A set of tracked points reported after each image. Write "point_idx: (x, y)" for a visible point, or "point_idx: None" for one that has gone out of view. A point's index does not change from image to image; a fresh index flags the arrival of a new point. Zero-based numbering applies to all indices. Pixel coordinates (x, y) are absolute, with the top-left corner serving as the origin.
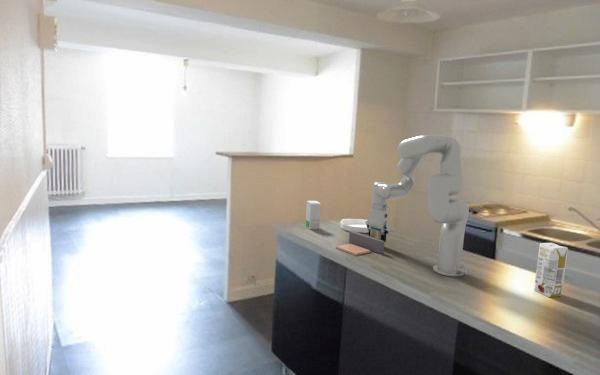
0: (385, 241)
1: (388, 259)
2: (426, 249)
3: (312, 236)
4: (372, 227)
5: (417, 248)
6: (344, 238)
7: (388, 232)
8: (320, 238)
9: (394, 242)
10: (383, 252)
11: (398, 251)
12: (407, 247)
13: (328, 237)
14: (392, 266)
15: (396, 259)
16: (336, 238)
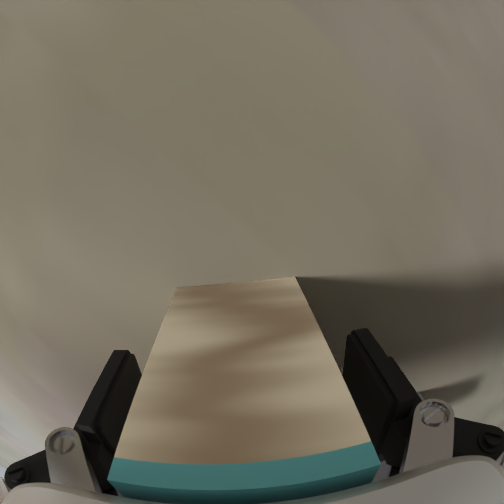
0: (366, 331)
1: (471, 407)
2: (497, 18)
3: (4, 451)
4: (78, 483)
5: (474, 36)
6: (5, 386)
7: (483, 426)
8: (26, 457)
9: (225, 22)
10: (420, 396)
11: (470, 262)
12: (438, 70)
13: (3, 426)
14: (495, 420)
15: (497, 373)
16: (13, 416)
